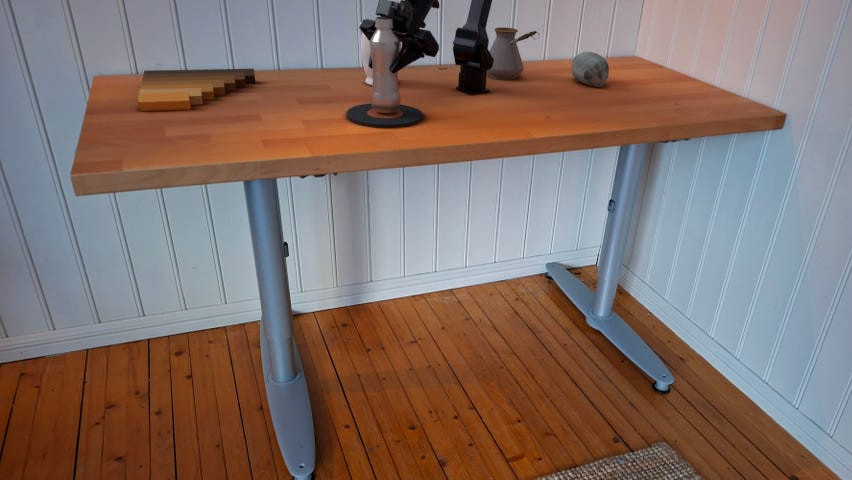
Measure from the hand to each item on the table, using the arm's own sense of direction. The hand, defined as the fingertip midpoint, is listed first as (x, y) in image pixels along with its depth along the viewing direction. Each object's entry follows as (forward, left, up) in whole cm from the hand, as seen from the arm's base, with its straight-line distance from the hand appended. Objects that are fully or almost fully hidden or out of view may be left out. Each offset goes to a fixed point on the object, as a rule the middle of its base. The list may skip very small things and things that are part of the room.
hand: (380, 69), depth 146 cm
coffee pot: (-50, -17, -11) cm, 54 cm away
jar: (-15, -28, -11) cm, 33 cm away
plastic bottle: (-1, 0, -10) cm, 10 cm away
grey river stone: (-69, -6, -11) cm, 70 cm away
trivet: (-1, 0, -11) cm, 11 cm away
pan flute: (+29, -34, -11) cm, 45 cm away
